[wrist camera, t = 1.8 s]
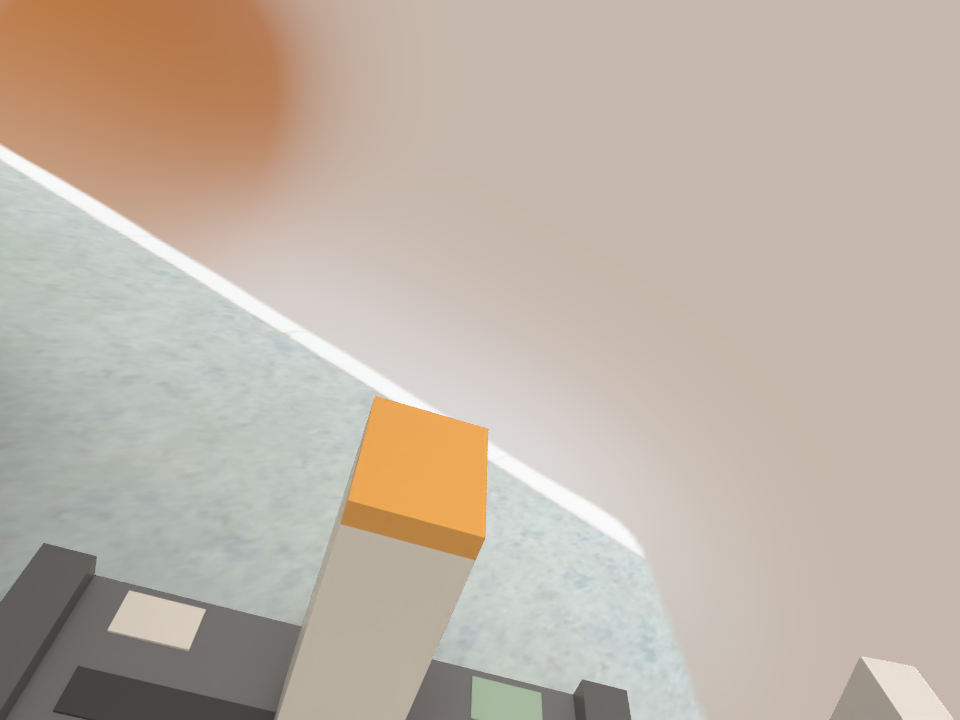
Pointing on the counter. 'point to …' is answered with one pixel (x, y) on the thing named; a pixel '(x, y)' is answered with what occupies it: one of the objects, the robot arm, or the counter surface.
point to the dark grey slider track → (201, 659)
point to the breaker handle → (390, 567)
